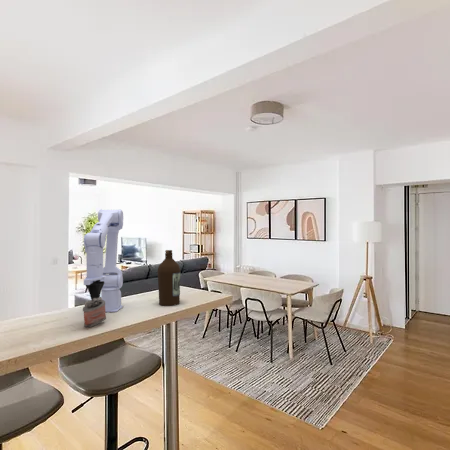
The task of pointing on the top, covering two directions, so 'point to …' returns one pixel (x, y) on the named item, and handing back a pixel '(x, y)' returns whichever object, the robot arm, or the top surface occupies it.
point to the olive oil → (169, 281)
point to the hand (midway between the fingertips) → (95, 301)
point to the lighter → (94, 312)
